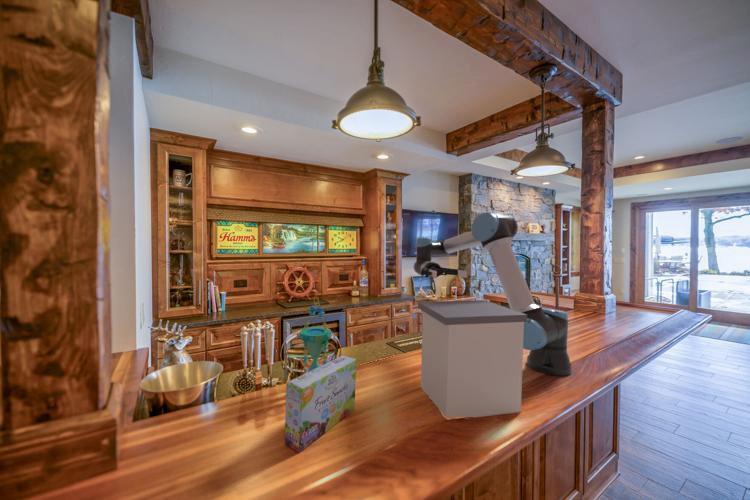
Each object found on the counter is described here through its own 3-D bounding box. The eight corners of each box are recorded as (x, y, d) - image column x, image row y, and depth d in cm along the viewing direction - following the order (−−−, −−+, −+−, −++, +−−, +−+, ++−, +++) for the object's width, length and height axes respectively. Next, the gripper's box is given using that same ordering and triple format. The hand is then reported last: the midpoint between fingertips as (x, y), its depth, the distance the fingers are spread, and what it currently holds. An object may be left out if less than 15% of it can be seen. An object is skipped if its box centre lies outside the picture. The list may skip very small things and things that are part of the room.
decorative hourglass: (338, 385, 99) (339, 295, 98) (318, 401, 89) (320, 301, 88) (311, 378, 103) (312, 292, 102) (289, 392, 93) (291, 297, 93)
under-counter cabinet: (482, 378, 106) (485, 300, 105) (523, 411, 85) (527, 314, 85) (415, 384, 101) (417, 301, 100) (442, 421, 80) (445, 317, 79)
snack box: (300, 455, 66) (301, 388, 66) (283, 445, 69) (284, 381, 69) (356, 410, 84) (357, 357, 84) (340, 404, 87) (341, 353, 87)
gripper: (454, 277, 146) (478, 283, 126) (406, 277, 141) (422, 283, 120) (454, 262, 146) (478, 265, 126) (406, 261, 141) (423, 265, 120)
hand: (451, 274), depth 123 cm, fingers open, 13 cm apart
